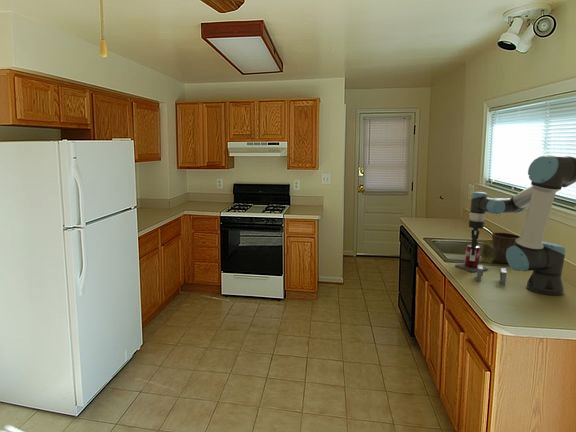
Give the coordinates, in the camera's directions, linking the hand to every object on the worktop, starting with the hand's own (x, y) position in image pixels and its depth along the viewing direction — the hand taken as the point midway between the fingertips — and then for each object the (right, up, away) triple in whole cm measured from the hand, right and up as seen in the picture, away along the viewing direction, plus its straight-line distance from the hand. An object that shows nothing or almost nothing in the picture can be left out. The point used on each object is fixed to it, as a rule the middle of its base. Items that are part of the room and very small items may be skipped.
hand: (472, 257), depth 228 cm
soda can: (0, -5, +1) cm, 5 cm away
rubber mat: (0, -6, +1) cm, 6 cm away
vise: (+1, -10, -19) cm, 21 cm away
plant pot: (+26, -4, +18) cm, 32 cm away
